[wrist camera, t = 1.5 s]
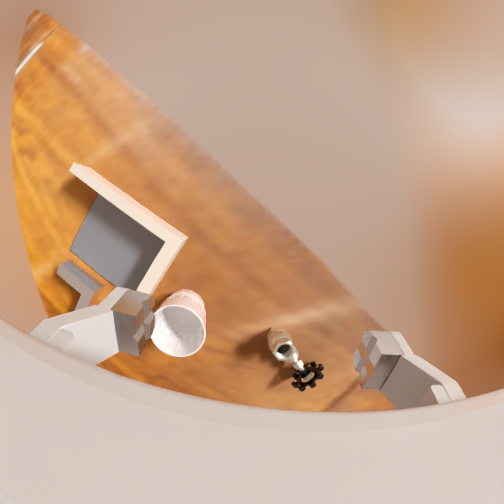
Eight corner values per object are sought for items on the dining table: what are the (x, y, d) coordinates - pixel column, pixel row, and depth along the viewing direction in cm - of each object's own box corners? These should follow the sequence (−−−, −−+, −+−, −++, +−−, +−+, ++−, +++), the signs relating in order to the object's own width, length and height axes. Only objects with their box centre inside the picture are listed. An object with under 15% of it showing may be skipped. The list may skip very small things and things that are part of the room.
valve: (254, 336, 46) (290, 378, 48) (259, 354, 40) (298, 397, 42) (285, 315, 46) (318, 359, 48) (295, 330, 40) (329, 376, 42)
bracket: (106, 284, 42) (94, 292, 37) (90, 317, 43) (78, 327, 38) (74, 258, 41) (60, 263, 36) (59, 292, 41) (46, 300, 36)
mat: (133, 298, 43) (132, 298, 43) (70, 249, 41) (69, 249, 40) (168, 240, 42) (167, 240, 42) (100, 191, 40) (100, 191, 40)
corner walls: (134, 324, 44) (124, 338, 38) (47, 254, 40) (29, 259, 34) (188, 237, 43) (182, 241, 37) (90, 167, 39) (74, 162, 33)
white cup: (154, 299, 44) (137, 321, 34) (192, 276, 44) (184, 294, 34) (179, 336, 45) (170, 365, 35) (217, 315, 45) (216, 341, 35)
